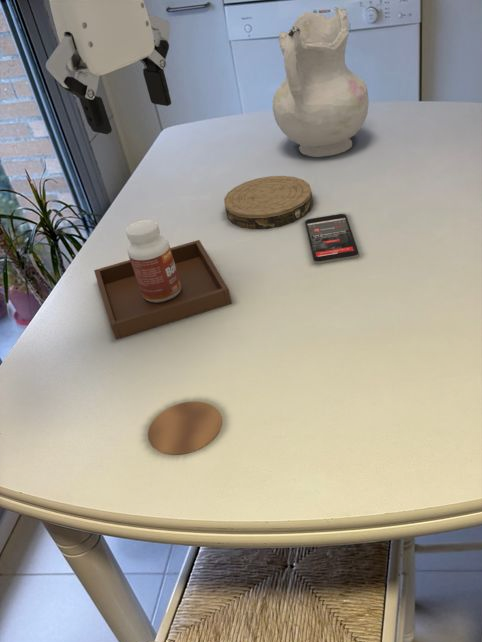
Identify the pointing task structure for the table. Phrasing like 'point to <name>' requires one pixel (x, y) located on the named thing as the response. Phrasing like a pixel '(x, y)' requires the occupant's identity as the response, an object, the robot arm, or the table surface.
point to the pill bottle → (152, 262)
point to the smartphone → (331, 239)
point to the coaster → (185, 428)
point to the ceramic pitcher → (319, 86)
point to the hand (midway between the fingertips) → (132, 117)
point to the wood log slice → (268, 202)
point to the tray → (140, 315)
